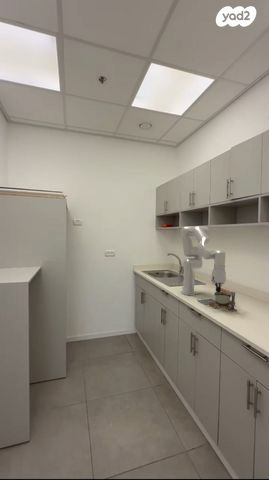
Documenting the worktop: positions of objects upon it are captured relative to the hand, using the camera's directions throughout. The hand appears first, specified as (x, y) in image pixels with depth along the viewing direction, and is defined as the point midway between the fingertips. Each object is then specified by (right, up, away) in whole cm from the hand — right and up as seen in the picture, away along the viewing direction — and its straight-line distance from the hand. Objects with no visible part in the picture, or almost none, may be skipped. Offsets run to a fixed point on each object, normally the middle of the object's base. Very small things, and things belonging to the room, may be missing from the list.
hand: (218, 291), depth 170 cm
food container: (+4, -12, +4) cm, 13 cm away
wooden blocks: (+6, -12, 0) cm, 13 cm away
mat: (-4, -11, +11) cm, 16 cm away
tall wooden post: (+6, -1, 0) cm, 6 cm away
